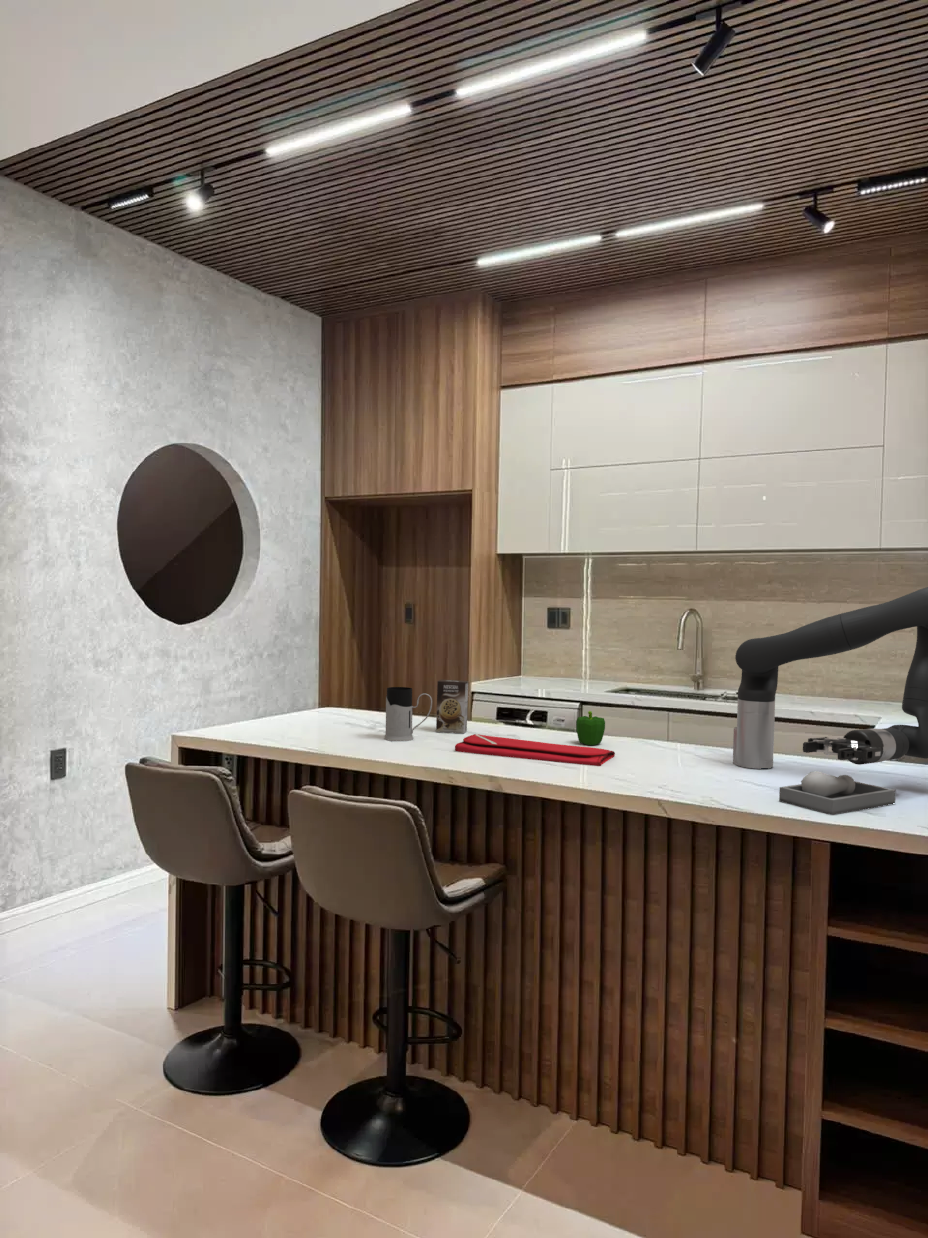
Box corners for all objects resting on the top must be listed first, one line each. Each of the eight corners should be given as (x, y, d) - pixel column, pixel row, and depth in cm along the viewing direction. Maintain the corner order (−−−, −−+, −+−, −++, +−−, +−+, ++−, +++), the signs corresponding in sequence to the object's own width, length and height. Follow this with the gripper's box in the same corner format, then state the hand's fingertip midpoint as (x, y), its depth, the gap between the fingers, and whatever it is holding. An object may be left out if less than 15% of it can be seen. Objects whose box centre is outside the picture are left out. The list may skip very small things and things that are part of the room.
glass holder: (387, 735, 259) (388, 686, 259) (433, 737, 257) (434, 687, 257) (380, 740, 250) (381, 689, 250) (428, 742, 248) (429, 691, 248)
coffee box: (435, 732, 267) (436, 680, 266) (439, 729, 273) (440, 679, 273) (464, 734, 265) (465, 682, 265) (467, 730, 272) (468, 680, 271)
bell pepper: (583, 740, 257) (584, 707, 257) (608, 744, 253) (609, 710, 252) (570, 744, 251) (571, 710, 250) (595, 747, 246) (596, 713, 246)
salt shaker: (816, 803, 182) (857, 802, 188) (823, 777, 181) (863, 777, 187) (795, 792, 187) (834, 791, 193) (801, 767, 186) (841, 767, 192)
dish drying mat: (600, 768, 219) (600, 754, 219) (453, 753, 235) (453, 740, 235) (615, 758, 233) (615, 744, 233) (476, 745, 250) (476, 732, 249)
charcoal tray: (779, 801, 185) (779, 787, 185) (841, 791, 195) (841, 778, 195) (832, 815, 173) (832, 800, 173) (895, 804, 184) (895, 790, 184)
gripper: (841, 724, 196) (793, 728, 187) (900, 734, 183) (852, 739, 175) (839, 757, 196) (792, 762, 188) (898, 769, 184) (850, 775, 175)
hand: (821, 751), depth 181 cm, fingers open, 8 cm apart
